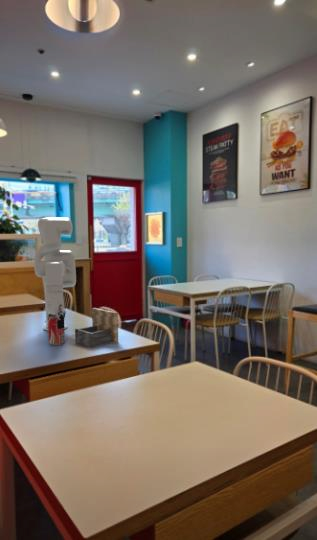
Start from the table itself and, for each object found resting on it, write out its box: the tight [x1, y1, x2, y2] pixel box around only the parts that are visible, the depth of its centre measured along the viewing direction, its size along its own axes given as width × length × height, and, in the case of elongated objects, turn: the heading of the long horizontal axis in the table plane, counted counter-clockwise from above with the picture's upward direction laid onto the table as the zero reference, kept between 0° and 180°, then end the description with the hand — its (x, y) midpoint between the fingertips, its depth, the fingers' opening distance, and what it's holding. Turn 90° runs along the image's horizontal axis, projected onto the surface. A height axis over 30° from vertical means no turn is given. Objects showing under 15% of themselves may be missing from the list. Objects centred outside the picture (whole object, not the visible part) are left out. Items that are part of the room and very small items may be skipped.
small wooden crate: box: [74, 307, 119, 348], centre depth 176 cm, size 18×13×14 cm
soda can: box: [47, 315, 66, 347], centre depth 174 cm, size 7×7×13 cm
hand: (56, 326), depth 174 cm, fingers open, 8 cm apart
